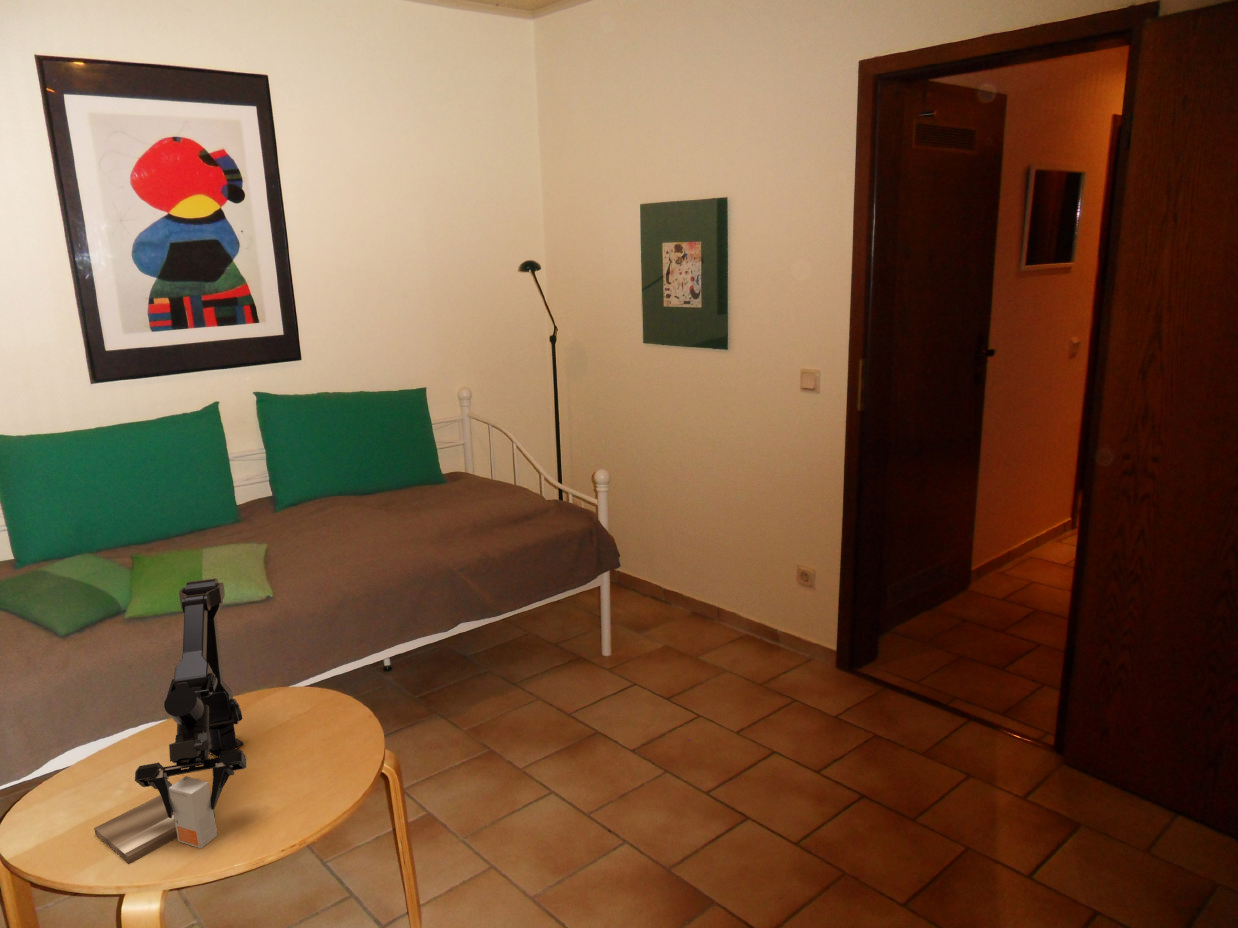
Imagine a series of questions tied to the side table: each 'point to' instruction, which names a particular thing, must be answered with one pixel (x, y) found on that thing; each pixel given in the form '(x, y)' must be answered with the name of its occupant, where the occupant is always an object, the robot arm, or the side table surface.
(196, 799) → the skincare box
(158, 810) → the bent metal bracket plate
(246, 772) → the side table surface
